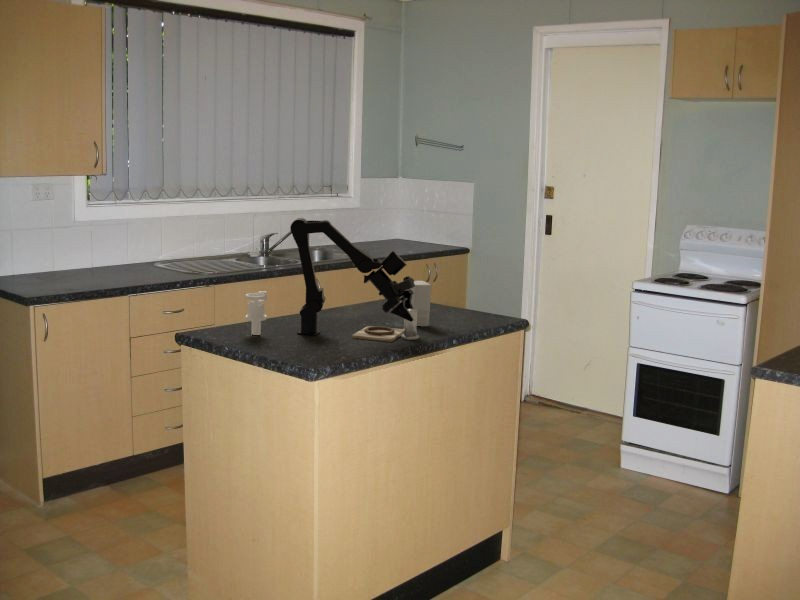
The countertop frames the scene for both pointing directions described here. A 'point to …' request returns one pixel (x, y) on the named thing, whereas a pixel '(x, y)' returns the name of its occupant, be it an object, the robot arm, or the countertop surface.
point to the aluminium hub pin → (410, 326)
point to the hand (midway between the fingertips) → (414, 319)
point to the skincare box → (421, 302)
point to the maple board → (378, 333)
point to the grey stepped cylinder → (256, 310)
